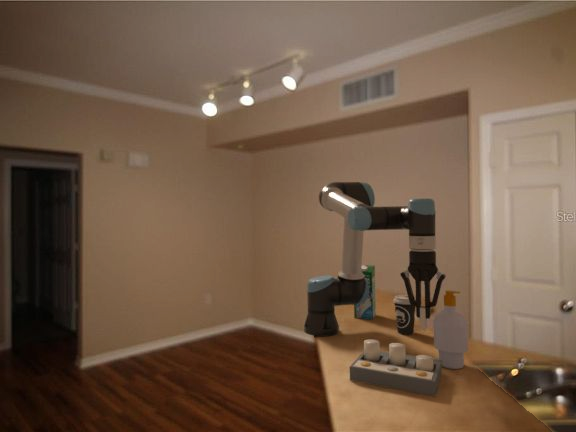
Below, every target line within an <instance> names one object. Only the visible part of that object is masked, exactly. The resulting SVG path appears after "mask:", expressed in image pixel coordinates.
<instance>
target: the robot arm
mask: <svg viewBox="0 0 576 432" xmlns="http://www.w3.org/2000/svg"><path fill="white" fill-rule="evenodd" d="M318 202H319V204H320V206H321V207H322V208H324V210H326V211H329V212H334V213H336V214H338V215H339V216H341V217H343V233H342V250H341V251H342V256H341V269H340V270H339V272H338V273H337V278H335V277H334V276H332V275H319V276H315V277H312V278H310V279H308V281H307V286H306V293H307V294H306V295H307V315H306V318H305V322H304V325H303V332H304V333H305V334H307V335H310V336H317V337H327V336H334V335H337V334H338V333H340V325H339V322H338V319H337V317H336V313H335V307H336V306H337V307H338V306H351V305H353V306H354V305H356V304H362V303H364V302H365V301H366V299H367V298H368V294H369V286H368V281H367V279H366V278H364V274H363V273H362V272H361V267H362V265H363V264H362V263H363V247H364V245H363V244H364V233H365V231H387V230H388V231H389V230H390V231H392V230H393V231H394V230H395V231H396V230H397V231H398V230H401V231H402V230H404V231H405V230H407V231H408V249H410V251H409V252H408V259H409V260H408V261H409V265H408V266H407V270H405V271H402V272H400V277H401V279H402V280H403V282H404V286H405V290H406V295H408V298H409V302H410V304H411V305H415V315H416V316H415V317H416V318H418V319H419V326H420V327H419V330H420V331H426V330H427V327H428V321H427V320H428V319H430V317H431V308H433V307H436V305H437V304H438V300H439V297H440V291H441V288H442V285H443V284H442V283H443V281H444V280H445V279H446V276H447V275H446V274H445V273H442V272H441V271H439V269H438V267H437V252H436V251H435V250H436V248H437V246H436V245H437V244H436V243H437V240H436V239H437V238H436V213H437V212H436V205H435V200H434V199H433V198H410V199H409V200H408V205H407V206H375V202H376V199H375V192H374V189H373V187H372V186H371V185H370V184H369V183H367V182H364V181H363V182H361V181H341V182H340V181H335V182H329V183H328V184H325V185H324V186H323V187H322V188H321V189H320V191H319V194H318ZM410 275H411V277H412V279H414V281H415V282H414V283H415V296H414V291H413V288H412V283H411V280H410ZM435 276H436V280H437V281H436V284H435V287H434V293H433V296H432V301H431V281H432V280H433V278H434V277H435ZM422 282H423V283H424V305H422V304H423V303H422ZM414 297H415V298H414Z"/></svg>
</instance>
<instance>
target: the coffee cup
mask: <svg viewBox="0 0 576 432" xmlns="http://www.w3.org/2000/svg"><path fill="white" fill-rule="evenodd" d="M414 298H415V299H416V296H414ZM392 302H393V304H394V310H395V312H394V313H395V321H396V331H397V333H398V334H400V335H404V336H406V335H407V336H410V335H414V331H415V320H416V319H415V317H416V316H415V315H416V306H415V305H411V304H410V302H409V298H408V294H401V295H400V294H399V295H395V296H394V299H393V300H392Z"/></svg>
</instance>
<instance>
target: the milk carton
mask: <svg viewBox="0 0 576 432" xmlns="http://www.w3.org/2000/svg"><path fill="white" fill-rule="evenodd" d="M361 272H362V273H363V274H364V278H366V279H367V281H368V286H369V294H368V298H367V299H366V301H365V302H364V303H362V304H356V305H353V311H354V315H353V317H354V319H365V320H366V319H367V320H374V318H375V316H376V314H377V311H376V309H377V307H376V266H375V265H369V264H362V267H361Z"/></svg>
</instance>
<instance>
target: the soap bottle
mask: <svg viewBox="0 0 576 432" xmlns="http://www.w3.org/2000/svg"><path fill="white" fill-rule="evenodd" d="M454 294H461V291H456V290H455V291H454V290H445V294H443V310H440V311H438V312H437V313H436V314H435V315H434V318H433V346H434V349H436V350H437V351H438V360H442V368H446V369H449V370H460V369H462V368H463V367H464V366H465V358H464V357H465V356H464V353H467V352H468V351H469V333H468V332H469V331H468V329H469V328H468V323H467V319H466V317H465V315H463V313H461V312H460V311H457V303H456V301H457V300H456V299H457V297H456V295H454Z"/></svg>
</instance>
